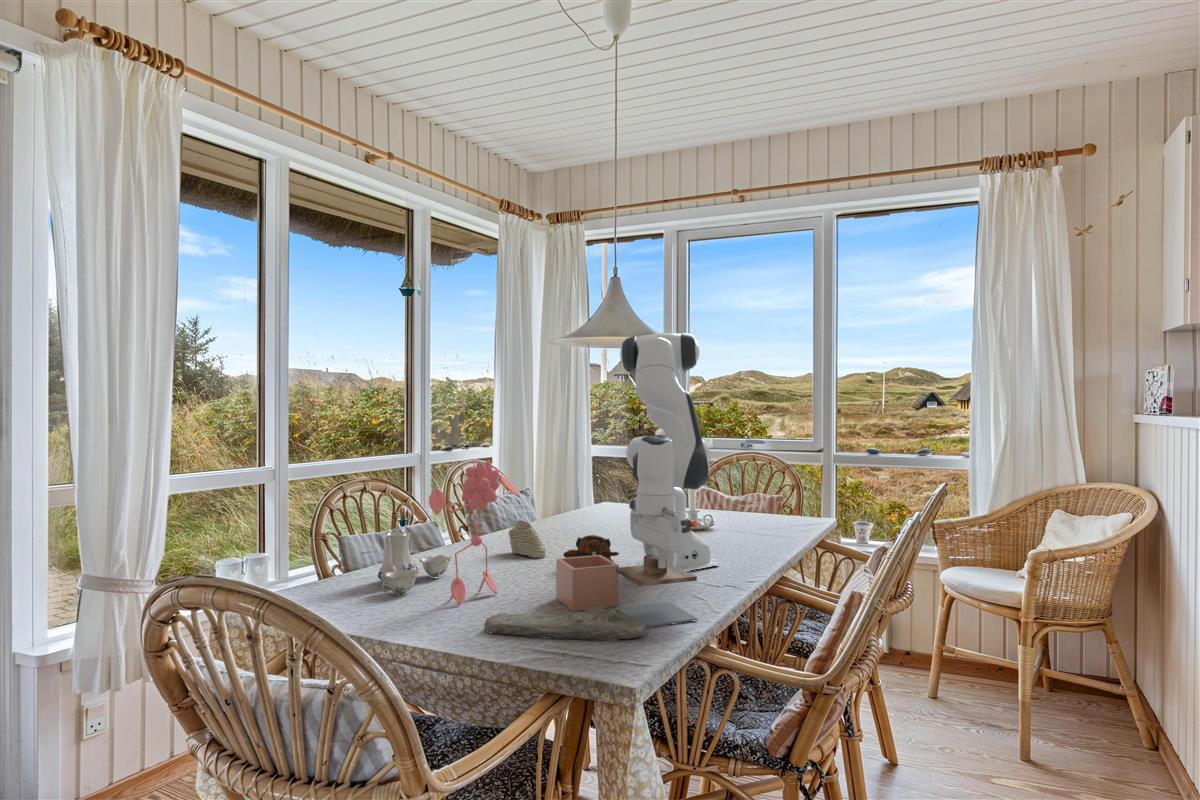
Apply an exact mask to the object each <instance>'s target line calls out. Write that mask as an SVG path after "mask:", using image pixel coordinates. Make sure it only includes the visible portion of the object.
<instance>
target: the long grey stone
mask: <svg viewBox="0 0 1200 800" xmlns="http://www.w3.org/2000/svg"><path fill="white" fill-rule="evenodd" d="M483 625H484V631H485V630H486V631H487V632H491V633H495V634H497V633H499V634H501V635H505V634H506V635H507V634H509V636H510V635H511V636H516V635H519V637H525V636H527V637H526V638H532V637H531V636H535V637H534V638H539V637H541V638H542V637H546V638H545V639H549V638H548V637H551V638H550V639H553V638H556V639H555V640H559V639H558V638H562V639H565V638H566V639H579V640H582V639H583V640H582V641H585V640H584V639H588V640H587V641H596V640H599V641H602V640H603V641H611V640H617V641H618V640H630V639H636V638H642V637H643V636H644V634H645V631H646V628H645V625H644V623H643V622H641V621H639V620H636V619H634V618H631V617H629V616H628V615H626V614H625V613H620V612H618V611H617V612H615V611H614V610H613V609H608V608H607V609H606V608H604V606H602V607H601V606H598V607H596V608H592V609H591V610H585V611H584V612H583V611H577V612H575V613H574V614H568V615H562V616H561V615H558V614H557V615H556V614H552V615H551V614H547V615H546V614H524V613H523V614H520V613H517V614H511V613H497V614H495V615H494V614H493V615H492V616H490V617H486V620H485V622H484V624H483ZM486 631H485V632H486ZM487 632H486V633H487ZM491 633H490V634H491Z"/></svg>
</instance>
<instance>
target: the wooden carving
mask: <svg viewBox="0 0 1200 800" xmlns="http://www.w3.org/2000/svg"><path fill="white" fill-rule="evenodd" d="M611 545H612V544H611V540H610V538H605V537H602V536H599V535H596V534H589V535H585V536H583V537H580V536H579V537H577V539H576V542H575V546H576V547H577V549H568V550H566V551H564V553H563V556H562V557H563V558H570V557H581V556H592V555H602V556H603V557H605V558H607V559H609V560H611V561H613V562H614V563H615V561H614V559H612V557H615V556H619V555H620V553H619V552H618V551H611Z"/></svg>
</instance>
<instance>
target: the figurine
mask: <svg viewBox="0 0 1200 800" xmlns="http://www.w3.org/2000/svg"><path fill="white" fill-rule="evenodd" d="M492 467H493V466H492V462H491V461H490V460H488V459H487V460H486V461H485V462H484V463H483V462H481V461H478V462H477V463H476V467H474V466H468V467H466V469H465V474H466V477H467V479H466V480H465V481H464V482H463V483H462V489H464V490H463V492H462V495H461V501H462V502H468V501H469V502H468V503H466V504H463V505H462V506H460V507H457V508H454V509H453V510H452V509H451V507H449V506H450V505H448V503H447V502H446V497H445V496H444V493H443V492H442V490H439V489H438V487H437V488H435V489H434V490H432V491H431V493H430V495H429V496H428V497H429V498H428V504H429V507H430V509H431V510H432V512H433V513H434V514H435V515H436V516H437V515H439V514H440V513H441V512H442V511H443V509H444V508H445V507H446V509H447V510H448V512H449V513H450V514H453V513H455V512H458V511H460V510H462V509H464V508H466V507H470V510H471V513H472V515H473V520H474V527H475V535H473V536H472V537H471V538H470V542H471V543H470V544H469V545H466V546H465V547H464V548H462V549H460V550H458V551H457V552H454V563H455V573H456V575H455V576H456V577H455V578H453V579H452V580H451V581H452V582H451V584H450V592H451V596H450V598H449V601H450V600H454V601H455V602H456V604H457V605H458V606H461V605H462V604H463V601H464V600H465V598H466V593H467V592H466V585H465V584H464V582H463V580H462V579H461V578H460V577H459V571H458V570H459V569H458V558H457V555H458V554H459V553H461V552H462V551H464V550H466V549H468V548H470V547H471V546H473V547H479V546H480V545H481V544H482V546H484V548H485V570H483V572H482V576H483V578H482V581H481V583H480V586H479V588H478V591H477V593H478V592H480V593H481V591H482V588H483V586H484V584H485V583H486V586H488V588H489V589H490V590H491V591H492V592H493V593H495V594H496V595H498V590H497V586H496V584H495V581H494V580H493V578H492V576H491V574H489V573H488V547H487V545H486V544H485V543H484V542H483V540H482V537H481V536H480V535H479V531H478V524H477V523H478V522H477V516H476V513H475V511H476V510H477V509H478V508H479V509H481V510H484V511H485V510H486V509H487V507H488V505H489V503H493V502H494V503H495V502H496V501H497V499H498V494H497V493H496V491H497V490H498V488H499V487H500V482H501V483H502V484H503V486H504V487H505V488H506V489H508V491H510V493H512V494H513V495H515V496H517V497H521V494H520V493H519V491H518V489H517V488H516V487H515V485H514V484H513V483H512V482H511V481H510V480H508V479H507V478H506V477H504V476H501V475H500V471H499V469H494V470H492V469H493V468H492ZM444 506H445V507H444ZM515 601H518V599H515ZM428 604H429V605H431V603H429V602H428Z"/></svg>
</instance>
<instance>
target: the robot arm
mask: <svg viewBox="0 0 1200 800" xmlns="http://www.w3.org/2000/svg"><path fill="white" fill-rule="evenodd" d="M619 355H620V356H619V357H620V362H621V364H622V366H623V369H624V370H625V371H626V372H628V373H631V374H635V377H634V378H635V390H636V395H637V397H638V398H639V400H640V401H641V402H642V403H643V404H644V405H645V407H646V409H645V410H646V416H647V418H648V420H649V421H650V422H651V423H652V424H653V425H655V426H658V427H660V428H661V430H663V433H664V434H665V435H664V434H663V435H661V434H649V435H642V436H637V437H633V438H632V439H631V440H630V441H629V443H628V444H627V448H626V453H625V454H626V460H627V462H628V464H629V466H630V467H631V468H632V479H633V480H635V482H637V483H638V486H637V489H636V496H635V497H633V498H632V499H629V500H628V508H629V509H630V513H629V514H630V515H629V517H630V518H629V521H630V522H629V524H630V534H631V536H632V539H634V540H637V541H639V542H641V543H642V546H643V547H642V548H643V550H644V553H645V556H648V555H659V556H658V559H657V560H656V566H657V567H658V568H660V569H661V568H665V567H666V559H667V563H669V564H671V565H673V566H676V567H678V568H680V569H682V570H684V571H685V570H690V569H695V568H699V567H704V566H708V565H714V564H717V563H718V564H719V561H718V560H717V559H715V558H712V556H711V549H710V547H709V544H708V543H707V542H706V540H704V539H702V538H701V536H698V535H697V534H696V533H695V532H693V531H692V528H697V527H698V525H699V523H698V521H697V520H693V519H692V520H691V519H689V518H687V495H686V493H685V491H684V489H686V490H699V489H700V488H701V487H702V486H704V485H705V484H706V483H707V482H708V481H709V478H710V472H711V468H710V467H711V466H710V461H711V458H712V456H711V454H712V453H711V450H710V447H709V444H708V443H707V441H705V440H704V439H703V438H702V435H701V428H700V426H699V425H700V424H699V420H698V415H697V413H696V412H697V411H696V408H695V405H694V401H693V399H692V398H693V397H692V395H691V393H689V391H687V390H684V389H683V380H682V379H683V378H682V372H681V371H683V373H684V374H685V373H687V371H689V370H691V369H693V368H694V367H695V366H696V365H697V362H698V360H699V356H700V346H699V343H698V341H697V339H696V336H694V335H693V334H692V333H688V332H681V333H676V332H675V333H674V332H660V333H659V332H658V333H654V334H646V335H640V336H637V335H633V336H630V337H627V338H625V340H624V341H623V342H622V344H621V347H620V351H619ZM682 488H683V489H682ZM713 561H717V562H713Z"/></svg>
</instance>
